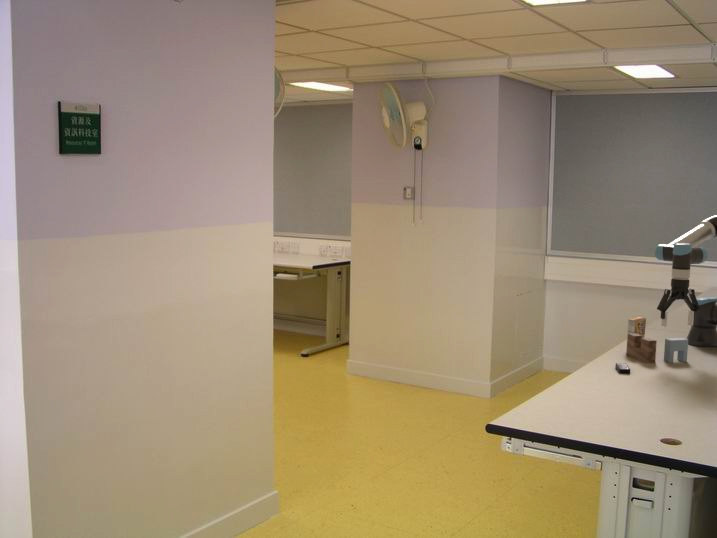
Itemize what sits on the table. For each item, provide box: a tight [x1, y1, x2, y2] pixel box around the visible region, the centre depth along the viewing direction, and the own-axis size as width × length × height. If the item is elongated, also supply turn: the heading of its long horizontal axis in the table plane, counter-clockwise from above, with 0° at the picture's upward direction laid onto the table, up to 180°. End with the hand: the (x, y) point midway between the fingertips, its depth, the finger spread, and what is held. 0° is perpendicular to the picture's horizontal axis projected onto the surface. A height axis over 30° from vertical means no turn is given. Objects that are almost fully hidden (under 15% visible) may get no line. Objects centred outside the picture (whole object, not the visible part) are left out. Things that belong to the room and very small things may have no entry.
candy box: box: [627, 316, 647, 338], centre depth 375 cm, size 9×4×15 cm, turn 129°
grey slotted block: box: [663, 337, 689, 364], centre depth 354 cm, size 9×4×10 cm, turn 105°
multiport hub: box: [615, 362, 631, 375], centre depth 336 cm, size 4×11×2 cm, turn 171°
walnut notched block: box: [626, 333, 658, 364], centre depth 358 cm, size 4×16×10 cm, turn 15°
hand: (677, 325), depth 353 cm, fingers open, 13 cm apart
